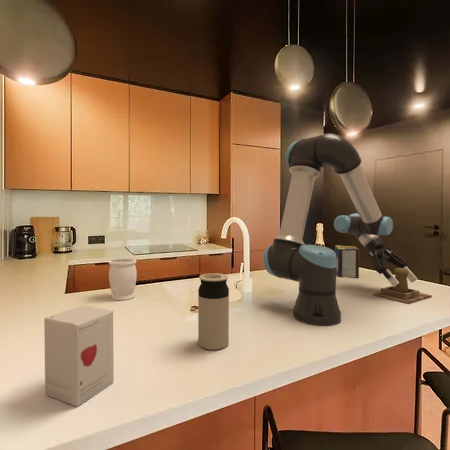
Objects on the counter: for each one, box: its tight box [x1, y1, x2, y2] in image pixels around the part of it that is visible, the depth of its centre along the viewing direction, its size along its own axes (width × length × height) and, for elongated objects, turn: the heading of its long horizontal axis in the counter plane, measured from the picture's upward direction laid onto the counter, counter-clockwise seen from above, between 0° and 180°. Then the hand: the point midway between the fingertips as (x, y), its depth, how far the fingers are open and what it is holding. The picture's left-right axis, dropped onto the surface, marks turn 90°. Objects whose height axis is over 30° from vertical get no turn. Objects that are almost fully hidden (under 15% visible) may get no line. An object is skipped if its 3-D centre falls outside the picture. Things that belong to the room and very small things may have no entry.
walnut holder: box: [373, 285, 433, 305], centre depth 124 cm, size 18×14×3 cm
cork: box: [393, 267, 409, 293], centre depth 123 cm, size 6×6×11 cm
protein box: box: [334, 245, 360, 279], centre depth 165 cm, size 10×15×16 cm
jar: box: [108, 258, 138, 301], centre depth 120 cm, size 11×10×15 cm
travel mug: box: [197, 272, 230, 351], centre depth 78 cm, size 8×8×18 cm
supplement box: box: [43, 304, 115, 408], centre depth 58 cm, size 9×9×15 cm
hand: (405, 283), depth 121 cm, fingers open, 13 cm apart
